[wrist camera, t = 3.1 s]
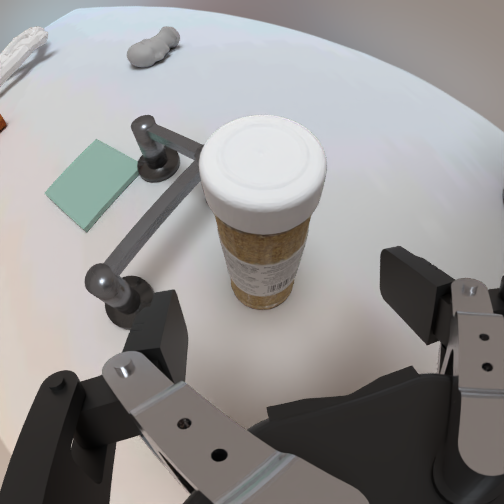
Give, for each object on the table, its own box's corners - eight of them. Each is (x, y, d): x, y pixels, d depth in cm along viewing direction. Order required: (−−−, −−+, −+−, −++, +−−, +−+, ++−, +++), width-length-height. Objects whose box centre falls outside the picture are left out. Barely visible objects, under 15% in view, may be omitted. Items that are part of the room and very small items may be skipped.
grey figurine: (142, 80, 36) (124, 63, 36) (188, 55, 38) (169, 39, 38) (138, 59, 32) (120, 43, 32) (189, 34, 34) (168, 19, 34)
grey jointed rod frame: (159, 144, 28) (144, 103, 23) (251, 191, 26) (249, 146, 21) (53, 261, 24) (18, 233, 19) (134, 340, 21) (99, 324, 16)
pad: (98, 142, 29) (96, 138, 29) (144, 168, 27) (143, 164, 27) (47, 196, 27) (44, 193, 26) (86, 232, 25) (83, 229, 24)
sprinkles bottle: (277, 243, 24) (292, 99, 11) (303, 297, 22) (354, 181, 10) (221, 265, 23) (182, 130, 11) (244, 321, 21) (222, 228, 9)
